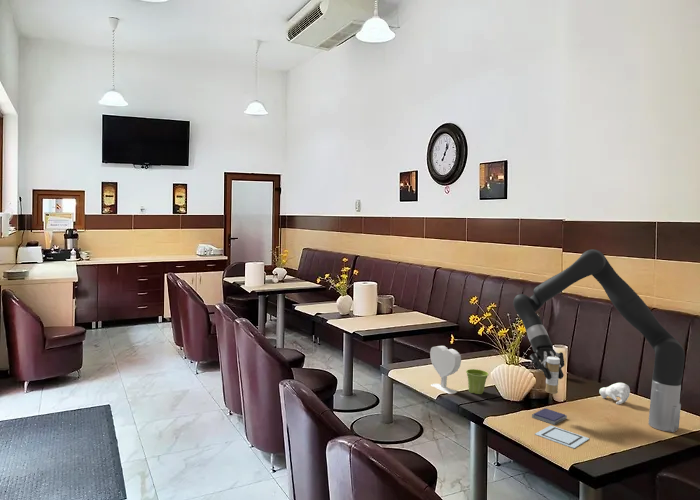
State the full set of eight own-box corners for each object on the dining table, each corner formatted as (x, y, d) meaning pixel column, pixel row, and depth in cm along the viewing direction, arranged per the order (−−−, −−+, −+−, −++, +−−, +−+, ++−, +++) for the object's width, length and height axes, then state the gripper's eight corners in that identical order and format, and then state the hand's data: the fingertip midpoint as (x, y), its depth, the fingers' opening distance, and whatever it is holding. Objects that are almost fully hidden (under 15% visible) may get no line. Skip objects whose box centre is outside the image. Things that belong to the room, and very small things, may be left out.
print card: (589, 439, 185) (589, 438, 184) (574, 448, 176) (574, 447, 176) (550, 425, 195) (550, 424, 195) (534, 434, 186) (534, 433, 186)
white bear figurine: (624, 385, 218) (595, 380, 227) (624, 406, 218) (596, 400, 227) (631, 383, 221) (603, 377, 231) (632, 403, 221) (603, 397, 231)
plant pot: (479, 387, 234) (480, 368, 234) (491, 395, 225) (492, 375, 225) (460, 389, 231) (462, 369, 231) (472, 396, 222) (473, 376, 222)
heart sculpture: (460, 393, 226) (463, 351, 225) (451, 395, 223) (454, 353, 222) (435, 382, 239) (437, 343, 237) (427, 384, 236) (429, 344, 235)
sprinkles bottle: (547, 389, 205) (550, 355, 204) (559, 392, 202) (562, 357, 201) (543, 392, 202) (545, 357, 200) (554, 395, 199) (557, 360, 197)
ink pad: (566, 418, 203) (567, 414, 202) (554, 425, 196) (554, 421, 196) (544, 411, 209) (544, 407, 209) (531, 417, 202) (532, 413, 202)
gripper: (527, 334, 206) (543, 374, 195) (559, 333, 209) (577, 372, 198) (518, 344, 211) (534, 383, 200) (550, 343, 214) (567, 382, 204)
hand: (555, 378), depth 199 cm, fingers closed on sprinkles bottle, 4 cm apart
